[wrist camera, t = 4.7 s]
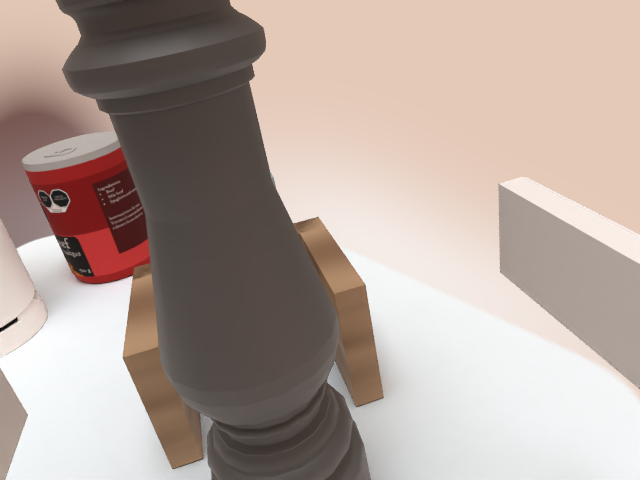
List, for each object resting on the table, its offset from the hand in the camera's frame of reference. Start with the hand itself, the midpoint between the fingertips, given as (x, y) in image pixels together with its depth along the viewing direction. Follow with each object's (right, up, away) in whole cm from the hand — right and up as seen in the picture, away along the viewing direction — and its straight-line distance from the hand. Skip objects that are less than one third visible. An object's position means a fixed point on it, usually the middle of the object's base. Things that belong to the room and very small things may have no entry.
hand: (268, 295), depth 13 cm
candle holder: (+1, -10, +9) cm, 14 cm away
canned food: (-17, -1, +34) cm, 38 cm away
